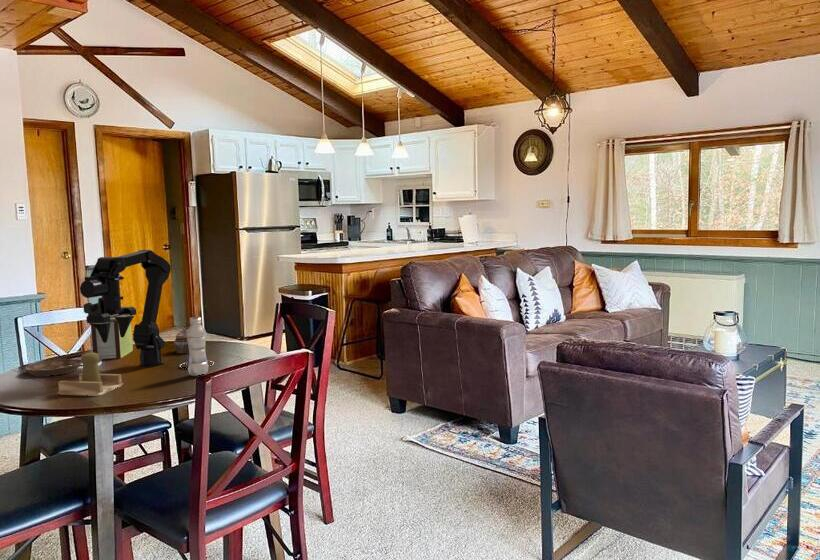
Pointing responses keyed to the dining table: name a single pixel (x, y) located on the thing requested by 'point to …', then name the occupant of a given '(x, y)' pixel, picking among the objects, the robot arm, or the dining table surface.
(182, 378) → the dining table surface
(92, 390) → the cradle
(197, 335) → the plastic bottle
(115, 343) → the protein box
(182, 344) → the cupcake
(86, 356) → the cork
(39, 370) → the plant saucer
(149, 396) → the dining table surface
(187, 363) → the patterned bowl
